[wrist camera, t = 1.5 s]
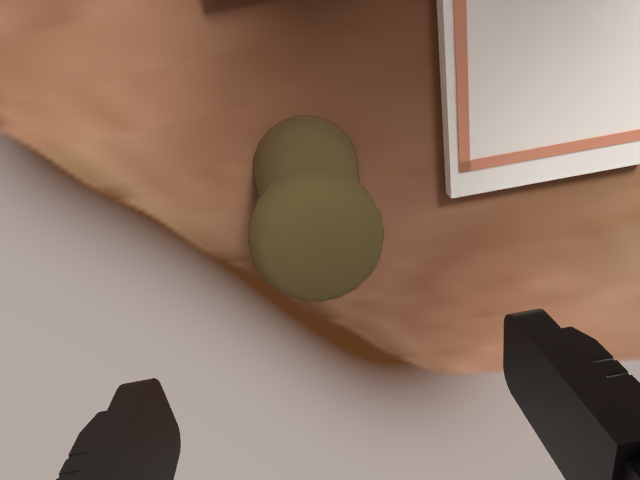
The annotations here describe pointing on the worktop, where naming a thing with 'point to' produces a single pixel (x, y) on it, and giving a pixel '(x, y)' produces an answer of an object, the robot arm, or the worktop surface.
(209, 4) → the worktop surface
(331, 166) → the olive rounded piece
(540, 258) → the worktop surface
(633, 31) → the marked board
